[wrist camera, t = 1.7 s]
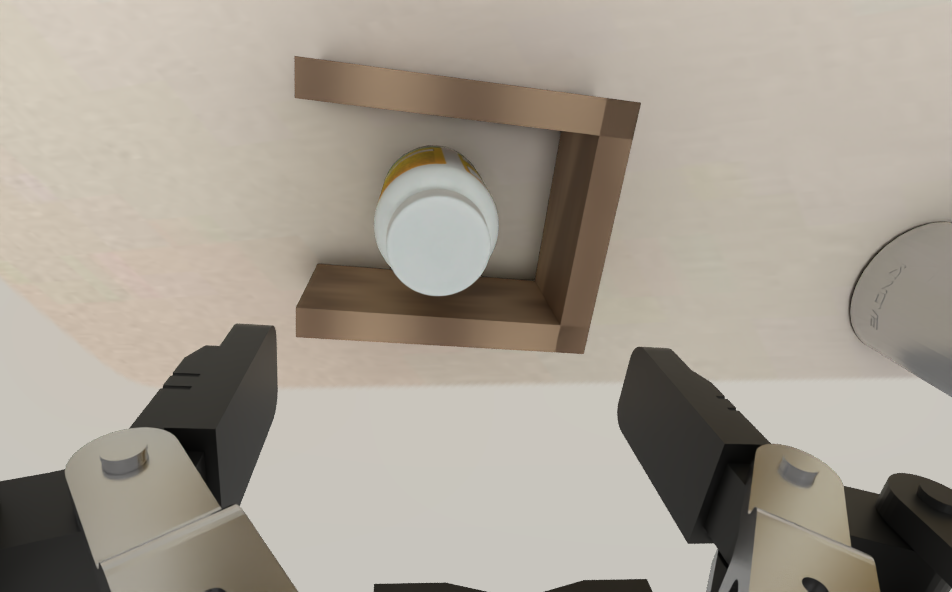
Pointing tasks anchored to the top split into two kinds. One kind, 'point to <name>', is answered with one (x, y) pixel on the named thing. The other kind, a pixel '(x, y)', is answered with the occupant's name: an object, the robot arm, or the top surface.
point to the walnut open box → (488, 299)
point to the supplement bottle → (435, 221)
